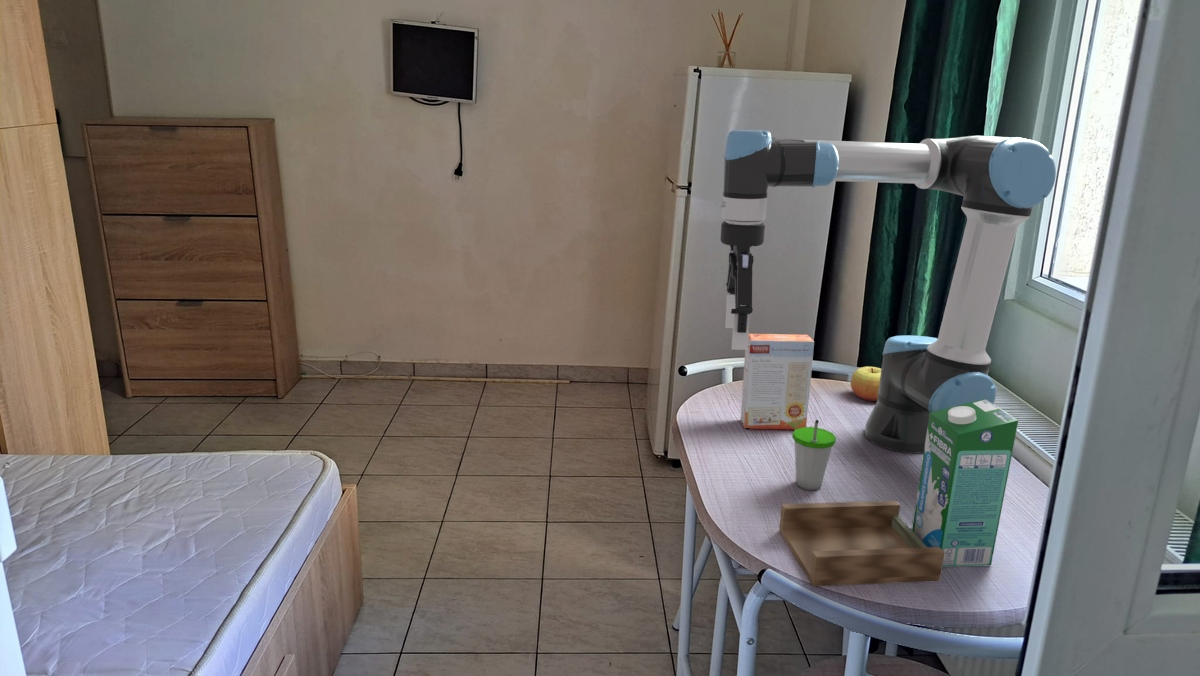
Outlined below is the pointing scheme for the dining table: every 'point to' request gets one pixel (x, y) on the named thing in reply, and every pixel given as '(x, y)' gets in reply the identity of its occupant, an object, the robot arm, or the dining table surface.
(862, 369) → the apple
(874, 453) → the dining table surface
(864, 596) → the dining table surface
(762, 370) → the cracker box
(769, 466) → the dining table surface
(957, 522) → the milk carton
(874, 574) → the tray
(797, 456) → the cup
